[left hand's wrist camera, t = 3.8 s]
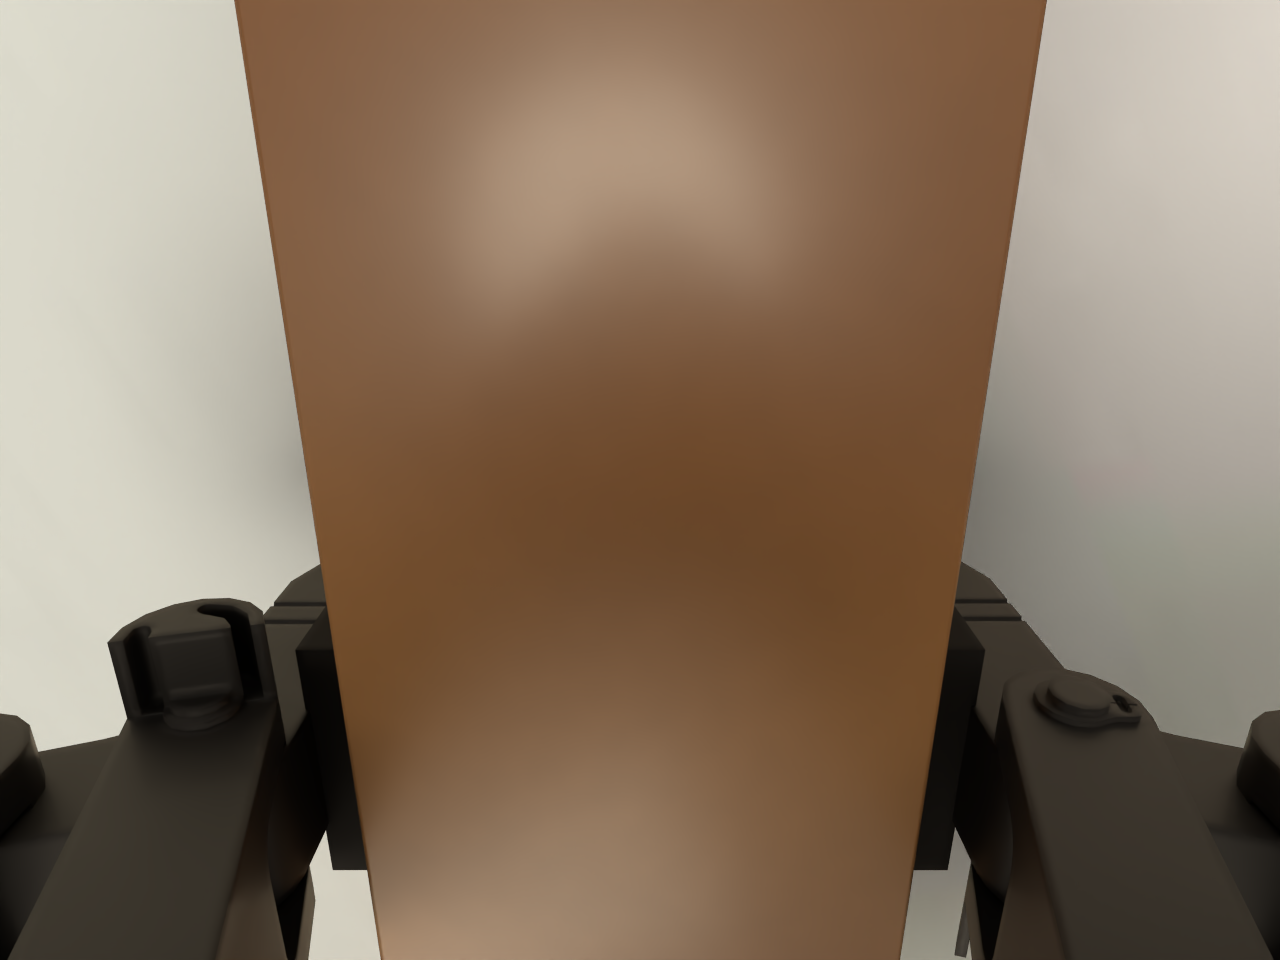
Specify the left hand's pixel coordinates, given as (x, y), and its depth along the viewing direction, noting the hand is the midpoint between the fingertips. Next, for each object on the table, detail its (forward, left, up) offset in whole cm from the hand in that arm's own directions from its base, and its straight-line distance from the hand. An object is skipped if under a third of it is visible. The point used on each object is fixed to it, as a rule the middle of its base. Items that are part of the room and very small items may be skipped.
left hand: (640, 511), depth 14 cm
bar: (-17, +29, -1) cm, 33 cm away
